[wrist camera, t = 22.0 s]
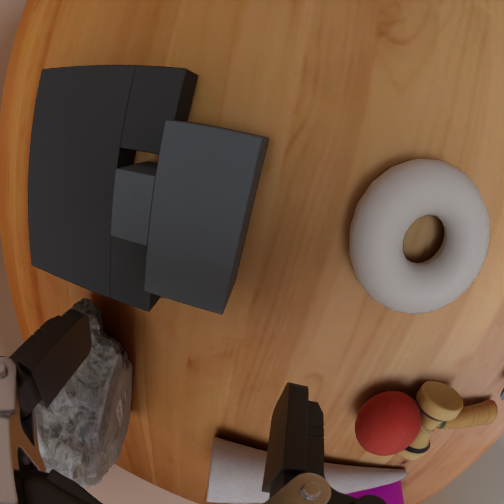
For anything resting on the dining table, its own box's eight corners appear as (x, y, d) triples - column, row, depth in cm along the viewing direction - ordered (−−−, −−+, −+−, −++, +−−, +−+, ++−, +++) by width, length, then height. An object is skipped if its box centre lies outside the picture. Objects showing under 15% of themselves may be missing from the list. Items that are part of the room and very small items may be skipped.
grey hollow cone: (445, 467, 21) (208, 485, 20) (408, 498, 25) (205, 510, 23) (425, 421, 29) (215, 422, 27) (395, 456, 32) (210, 458, 31)
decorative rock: (90, 278, 23) (-34, 394, 9) (159, 308, 23) (54, 464, 9) (94, 392, 29) (34, 486, 15) (144, 416, 29) (94, 521, 15)
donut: (383, 128, 16) (318, 268, 20) (402, 125, 13) (322, 292, 16) (491, 200, 16) (429, 315, 20) (519, 212, 13) (446, 341, 17)
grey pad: (155, 116, 17) (123, 114, 14) (269, 137, 17) (263, 137, 13) (137, 255, 21) (109, 279, 18) (234, 283, 21) (222, 315, 17)
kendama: (501, 366, 22) (376, 370, 21) (520, 411, 17) (393, 441, 16) (461, 405, 27) (336, 414, 25) (474, 446, 21) (344, 473, 20)
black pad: (60, 71, 17) (41, 69, 14) (198, 75, 16) (186, 68, 14) (46, 255, 23) (31, 265, 21) (160, 297, 22) (149, 312, 20)
